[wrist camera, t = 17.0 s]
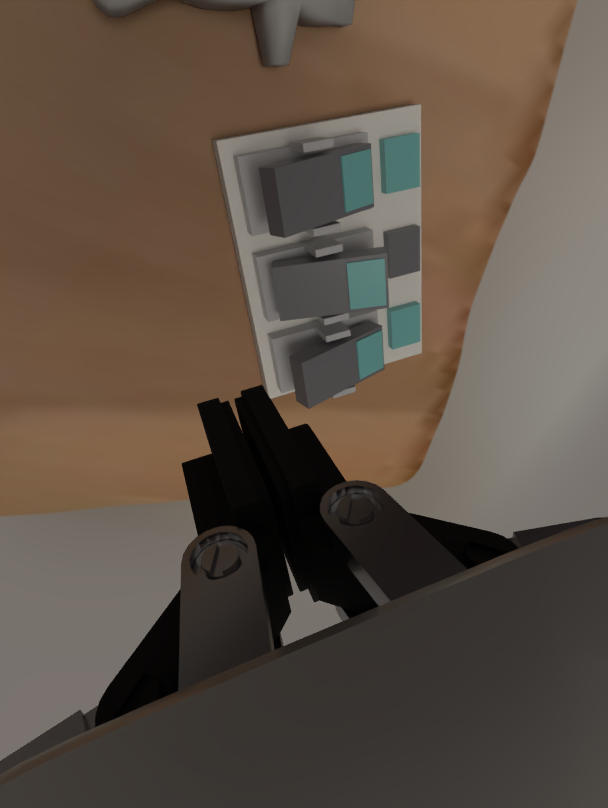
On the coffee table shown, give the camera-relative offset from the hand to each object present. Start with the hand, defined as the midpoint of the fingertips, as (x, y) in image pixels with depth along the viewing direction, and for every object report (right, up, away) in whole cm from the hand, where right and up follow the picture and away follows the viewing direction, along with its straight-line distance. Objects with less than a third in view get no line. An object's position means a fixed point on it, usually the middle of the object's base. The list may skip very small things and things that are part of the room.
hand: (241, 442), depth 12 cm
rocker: (+4, +4, +27) cm, 27 cm away
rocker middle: (+4, +10, +23) cm, 25 cm away
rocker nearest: (+3, +15, +19) cm, 25 cm away
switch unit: (+4, +13, +28) cm, 30 cm away
